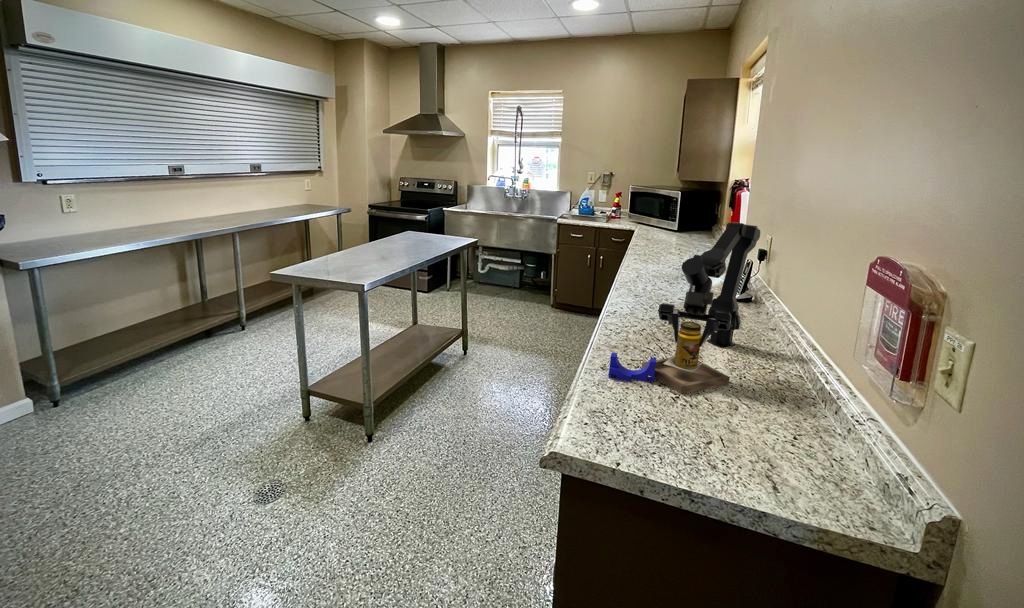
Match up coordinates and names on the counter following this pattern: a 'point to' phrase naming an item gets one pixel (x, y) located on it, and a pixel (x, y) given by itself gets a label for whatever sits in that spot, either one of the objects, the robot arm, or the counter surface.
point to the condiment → (687, 347)
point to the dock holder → (688, 377)
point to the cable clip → (625, 374)
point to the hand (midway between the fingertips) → (687, 343)
